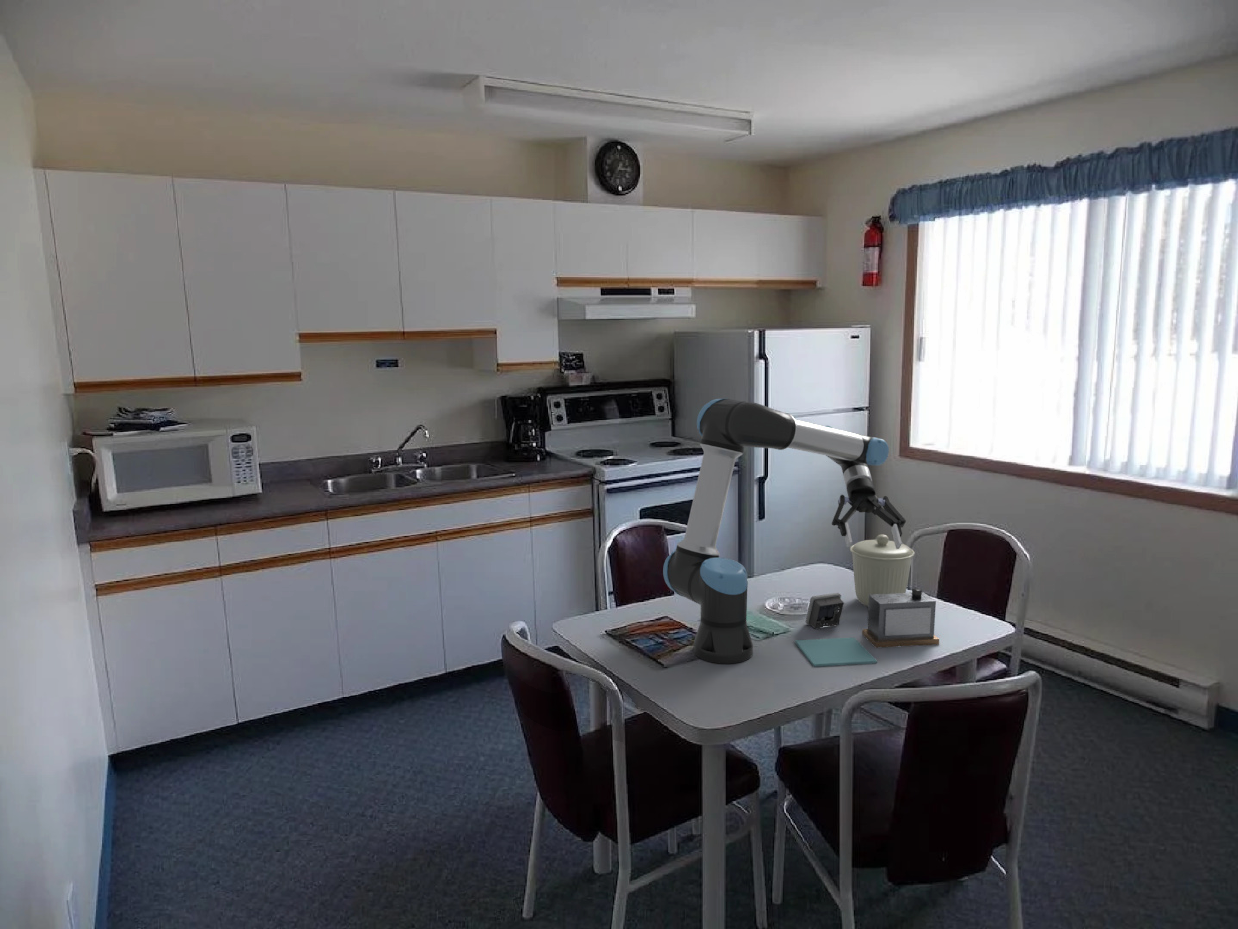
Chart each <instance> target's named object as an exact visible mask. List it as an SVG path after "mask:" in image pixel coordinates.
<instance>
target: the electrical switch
mask: <svg viewBox="0 0 1238 929" xmlns="http://www.w3.org/2000/svg"><path fill="white" fill-rule="evenodd" d="M841 597H842V595H841V593H839V592H834V593H826V594H821V595H820V594H819V595H813V596H811V597H810V599H809V605H808V609H807V613H806V618H805V620H804V621H805V622H804V623H806V625H807V626H812V627H813V629H815V630H817V629H816V628H818V629H821V628H820V627H823V626H830V627H835V626H834V625H836V626H839V625H840V621H841V617H842V612H843V610H844V609H843V608H844V604H845V602H844V600H842V598H841Z"/></svg>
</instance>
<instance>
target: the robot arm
mask: <svg viewBox="0 0 1238 929" xmlns="http://www.w3.org/2000/svg"><path fill="white" fill-rule="evenodd" d="M696 428H697V430H698V434H699V435H700V436H701V438H700V443H699V446H700V447H701V448H702V450H703V456H702V460H701V465H700V468H699V472H698V473H699V474H698V477H697V482H696V486H695V491H694V495H693V499H692V503H691V507H690V512H689V515H688V516H689V517H688V521H687V526H686V529H685V534H684V537H683V539H682V540H681V541H679V542H677V544H676V549H674V551H671V553H670V555H668V556H667V557H666V559H665V560H664V563H663V570H662V572H663V573H662V574H663V579H664V582H665V584H666V585H667V587H668V588H669V589H670V590H671V591H673V592H674V593H675V594H676V595H678V596H680V597H682V598H686V599H688V600H690V601H692V602H693V603H696V604H698V605H700V622H699V625H698V629H697V632H696V634H695V638H694V640H693V653H694V652H695V653H694V654H696V655H695V656H696V657H697V658H699V659H701V660H703V661H705V662H706V661H707V662H709V663H712V664H713V663H714V664H723V665H724V664H726V665H727V664H730V665H731V664H736V663H742V662H746V661H747V660H749V659H750V658H752V656H753V654H754V644H753V643H754V642H753V639H752V636H751V634H750V631H749V628H748V623H747V615H748V614H747V613H748V610H747V608H748V585H749V582H748V573H747V570H746V568H745V567H744V565H743V564H741V563H740V562H739V561H736V560H733V559H731V558H725V557H720V555H721V553H720V552H719V551H718V549H717V541H718V538H719V532H720V528H721V525H722V520H723V515H724V511H725V506H726V503H727V498H728V493H729V489H730V485H731V482H732V481H731V480H732V476H733V472H734V468H735V465H736V460H737V458H739V457H741V456H742V455H744V451H745V448H758V449H759V448H761V449H763V448H764V449H772V450H778V451H782V450H783V451H784V450H787V449H788V448H789V449H794V450H796V451H797V450H798V451H803V452H807V453H812V454H818V455H823V456H826V457H827V458H828V459H830V460H832V461H833V462H834V463H835V464H837V465H838V466H839V467H840V469H841V471H842V475H843V479H844V480H843V481H844V484H845V487H846V493H847V496H845V495H844V494H840V496H839V499H838V500H837V501H838V503H837V504H838V505H837V506H838V507H837V509H836V511H835V514H834V516H833V518H832V521H831V525H832V526H834V527H835V526H837V528H838V529H839V532H840V535H841V537H844V540H845V545H846V548H847V549H848V548H849V549H850V547H851V546H852V545H853V538H852V535H851V534H852V533H851V530H850V525H849V522H848V521H849V520H850V518H852V516H853V515H854V514H855V513H856V512H858V513H867V514H869V513H871V514H873V515H874V516H878V517H879V518H880V519H881V520H883V521H884V522H885V523H886V524H887V525H889V526H890V527H891V528H890V530H891V534H892V538H893V541H894V542H895V546H896V549H899V548H900V546H901V544H903V542H902V538H901V537H902V535H903V532H902V531H903V530H902V529H901V528H904V526H905V523H906V521H907V520H906V519H905V518H904V517H903V515H902V514H901V513H900V512H899V511H898V510H897V508H895V506H894V505H893V504H892V503H891V502H890V499H889V497H888V496H886V495H885V496H883V497H881V498H878V496H877V495H876V489H875V486H874V481H873V479H872V475H871V471H870V468H869V466H876V467H877V466H881V465H883V464H884V463H885V462H886V461H887V459H888V457H889V453H890V448H889V445H888V443H887V441H885V439H883V438H879V437H874V436H873V437H872V436H868V435H863V434H858V433H854V432H850V431H848V430H847V431H846V430H842V429H837V428H833V427H832V426H829V425H820V424H816V423H812V422H808V421H805V420H800V419H795V418H794V416H793V415H792V414H790V413H787V412H783V411H780V410H777V409H774V408H772V407H769V406H766V405H763V404H760V403H757V402H753V401H746V400H738V399H734V398H733V399H731V398H726V397H725V398H716V399H711V400H710V401H709V402H707V403H705V404H704V405H703V406H702V407H701V409H700V411H699V413H698V415H697V418H696ZM847 504H849V505H850V506H851V507H850V508H849V509H848V510H847V511H846V512H845V514H844V515H843V516H842V517H841V519H840V515H841V512H842V510H843V508H844V507H845V505H847Z"/></svg>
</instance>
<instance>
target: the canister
mask: <svg viewBox="0 0 1238 929" xmlns="http://www.w3.org/2000/svg"><path fill="white" fill-rule="evenodd" d="M849 551H850V552H851V553H852V554H851V555H852V568H853V570H852V571H853V580H854V589H855V590H854V591H855V595H856V598H857V600H858V601H859V602H860V603H861V604H862V605H864V606H867V607H868V605H869V595H874V594H895V593H907V589H908V588H907V587H908V583H909V576H910V570H911V564H912V558H913V557H914V556H915V551H914V550H913V549H912V548H911V547H909V546H908V545H907V544H904V543H902V544H901V546H900V548H899V549H896V546H895V542H894V540H890V539H889V536H888V535H886V534H884V533H882V534H878V535H877V536H876V537H875V539H865V540H860V541H858V542H856V543H855V544H851V546H850V548H849Z"/></svg>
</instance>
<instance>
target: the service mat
mask: <svg viewBox="0 0 1238 929" xmlns="http://www.w3.org/2000/svg"><path fill="white" fill-rule="evenodd" d="M794 644H797V645H796V646H797V647H798V648H799V650H800V651H801V652H802V654H803V655H804V656H805V658H806V659H807V660H808V661H809V662H810V664H811V665H812V666H813V667H814V668H815V667H817V668H818V667H827V666H828V667H830V666H831V667H832V666H833V667H834V666H850V665H867V664H868V665H869V664H877V663H878V660H877V659H876V658H875V657H874V656H873V655H872V654H871V653H870V652H869V651H868V650H867V649H866V648H865V647H864V646H863V645H862V643H860V642H859V641H858V640H857V639H856V637H853V636H852V637H837V638H836V637H835V638H818V639H817V638H815V639H814V638H813V639H797V640H796V639H795V640H794Z"/></svg>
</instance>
